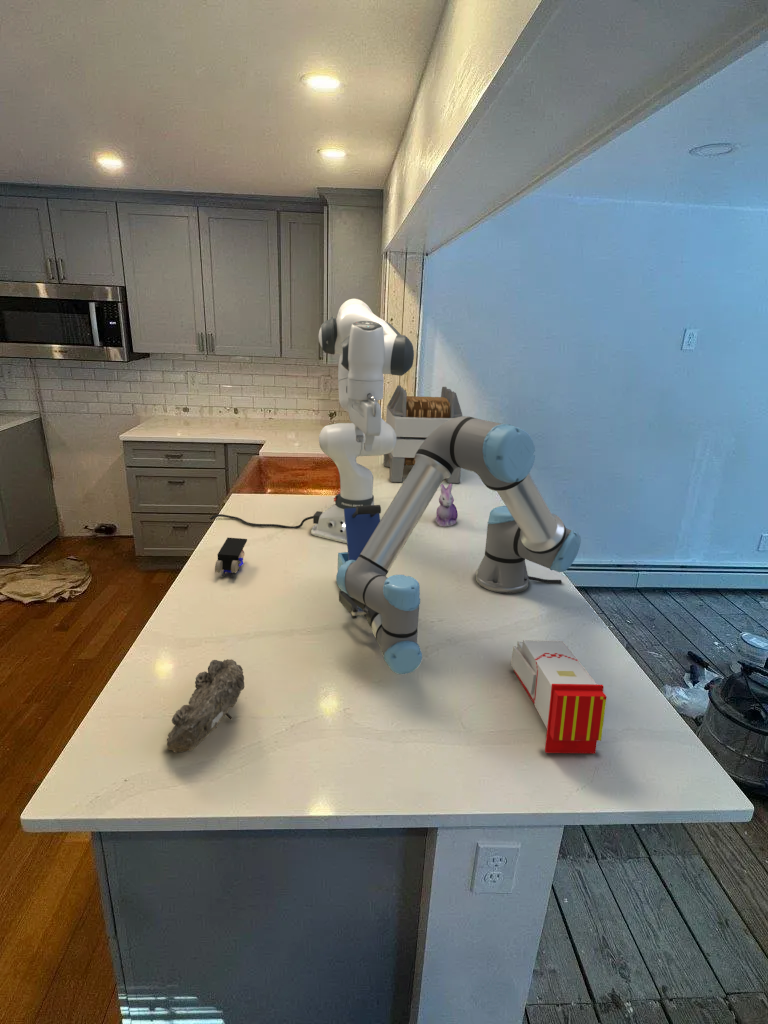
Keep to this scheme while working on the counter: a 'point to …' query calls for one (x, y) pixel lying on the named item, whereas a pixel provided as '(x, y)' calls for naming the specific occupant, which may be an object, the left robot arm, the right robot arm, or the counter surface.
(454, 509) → the figurine
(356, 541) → the lid
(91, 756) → the counter surface
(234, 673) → the fossil
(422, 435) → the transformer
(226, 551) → the figurine character
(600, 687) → the toy
